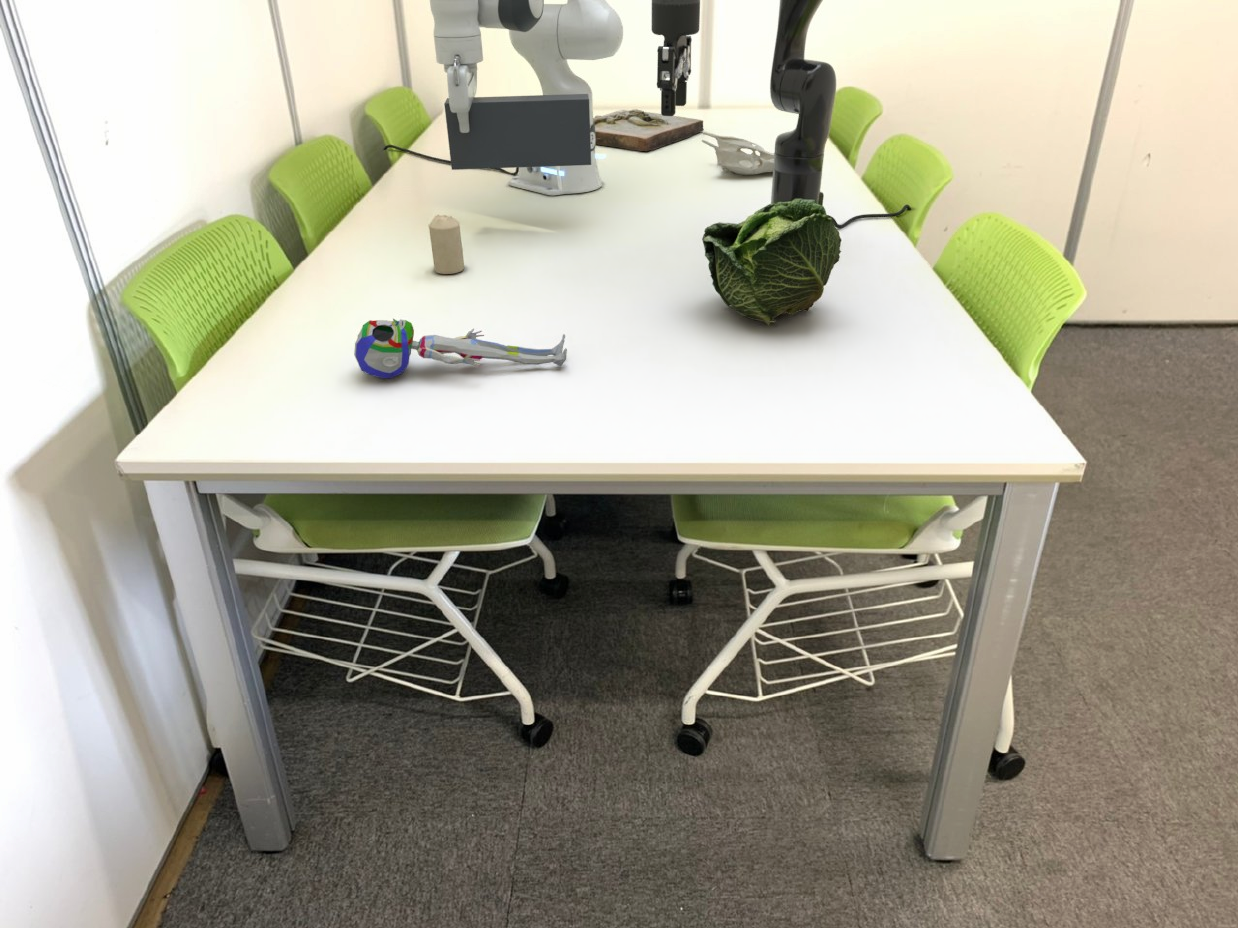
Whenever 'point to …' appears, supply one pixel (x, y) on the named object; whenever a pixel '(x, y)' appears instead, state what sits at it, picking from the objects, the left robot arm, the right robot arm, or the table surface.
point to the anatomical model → (741, 155)
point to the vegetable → (773, 259)
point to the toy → (435, 349)
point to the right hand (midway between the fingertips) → (674, 110)
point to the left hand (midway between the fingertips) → (466, 128)
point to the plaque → (643, 129)
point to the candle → (446, 244)
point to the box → (521, 132)
